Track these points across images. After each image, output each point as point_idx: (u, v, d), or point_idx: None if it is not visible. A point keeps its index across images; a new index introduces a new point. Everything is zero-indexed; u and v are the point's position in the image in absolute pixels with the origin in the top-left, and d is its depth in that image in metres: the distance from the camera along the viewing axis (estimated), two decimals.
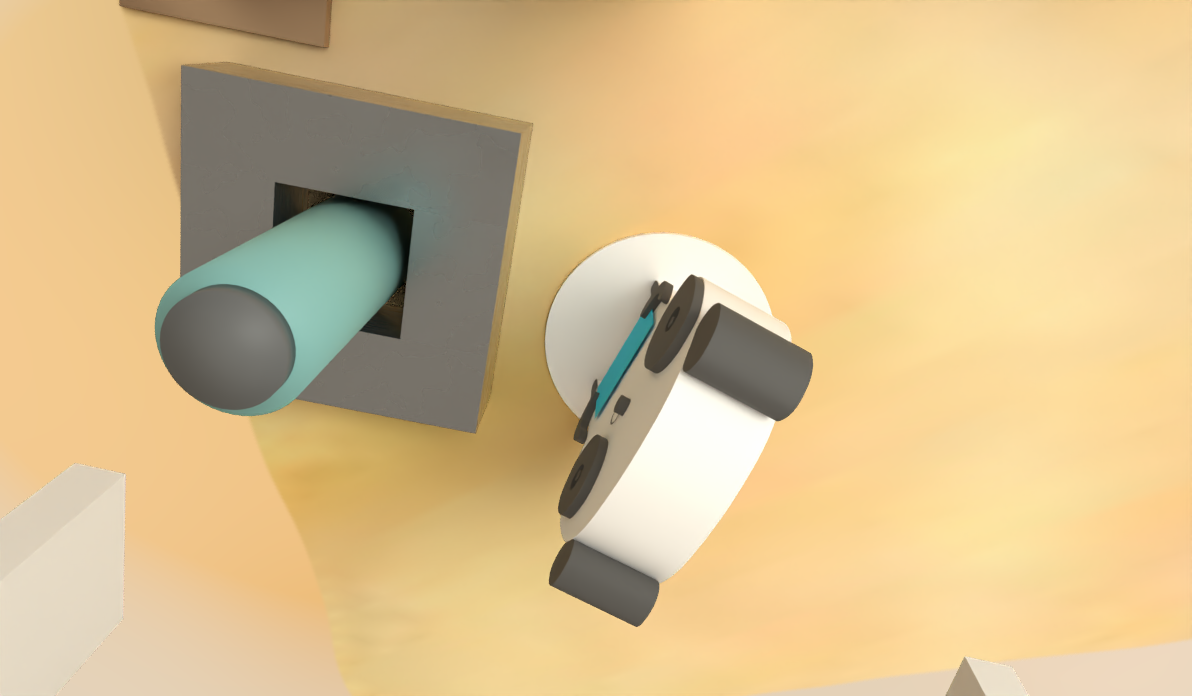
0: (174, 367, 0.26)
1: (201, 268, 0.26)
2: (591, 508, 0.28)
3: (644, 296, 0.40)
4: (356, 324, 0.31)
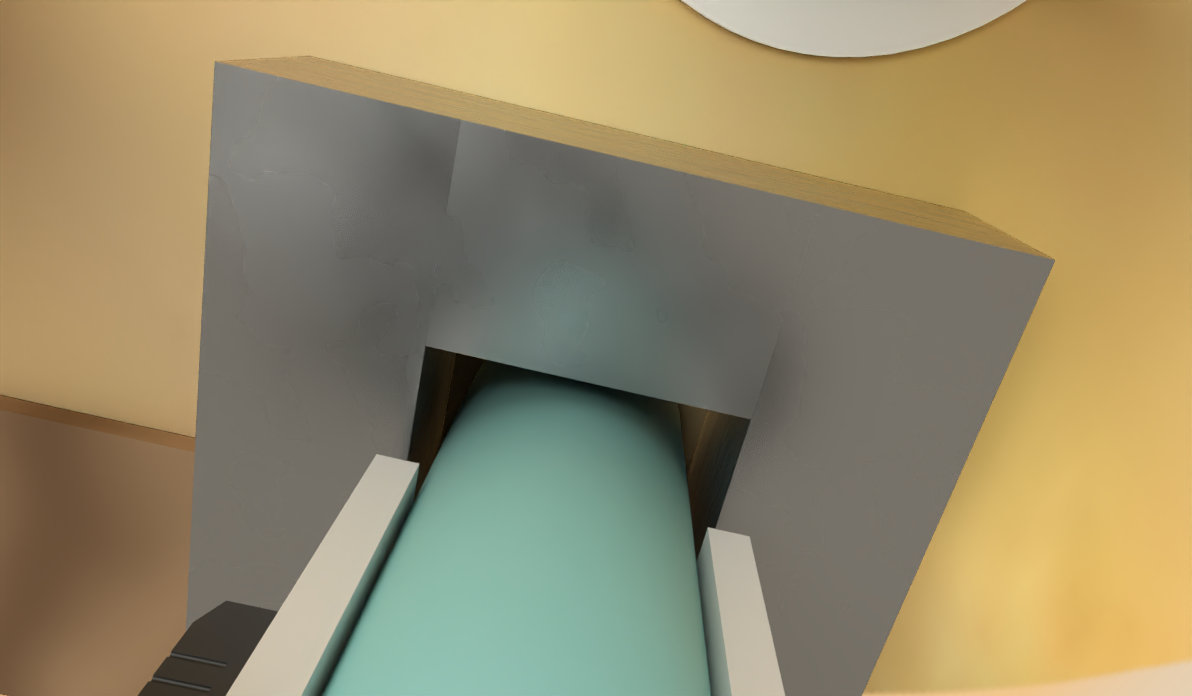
0: None
1: None
2: None
3: None
4: (591, 604, 0.10)
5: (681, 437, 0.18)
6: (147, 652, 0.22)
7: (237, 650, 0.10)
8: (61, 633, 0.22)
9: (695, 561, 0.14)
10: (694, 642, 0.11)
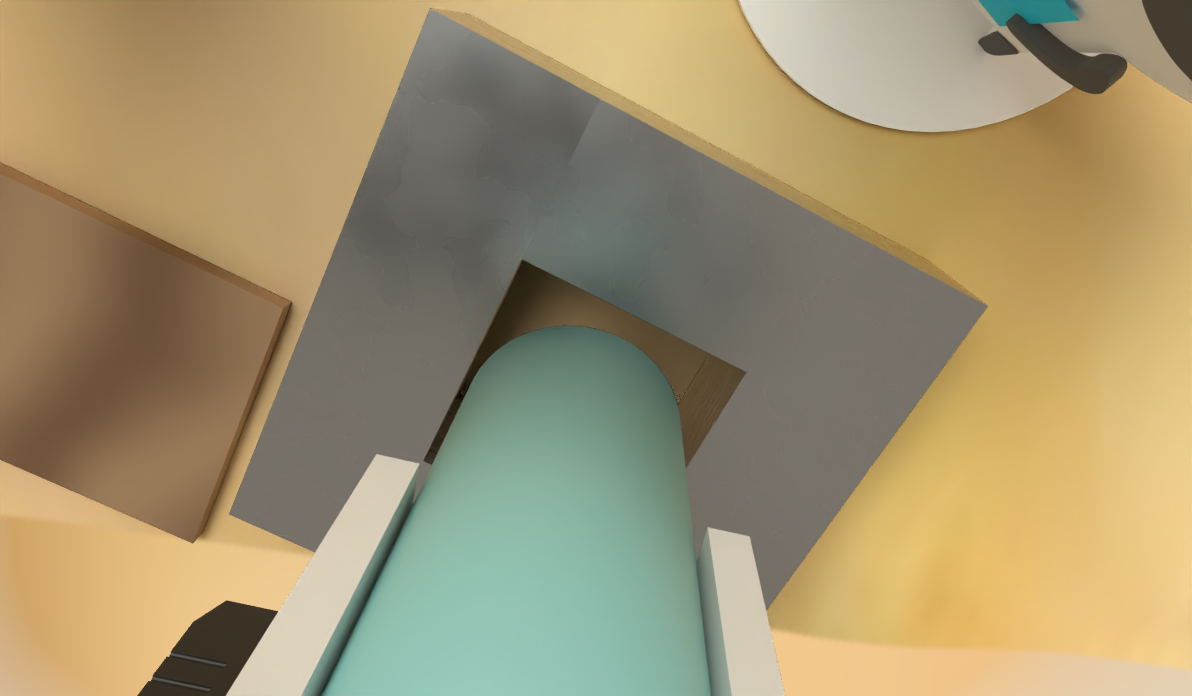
0: None
1: None
2: None
3: None
4: (590, 604, 0.10)
5: (681, 437, 0.18)
6: (182, 466, 0.25)
7: (237, 650, 0.10)
8: (111, 434, 0.25)
9: (695, 561, 0.14)
10: (694, 641, 0.11)
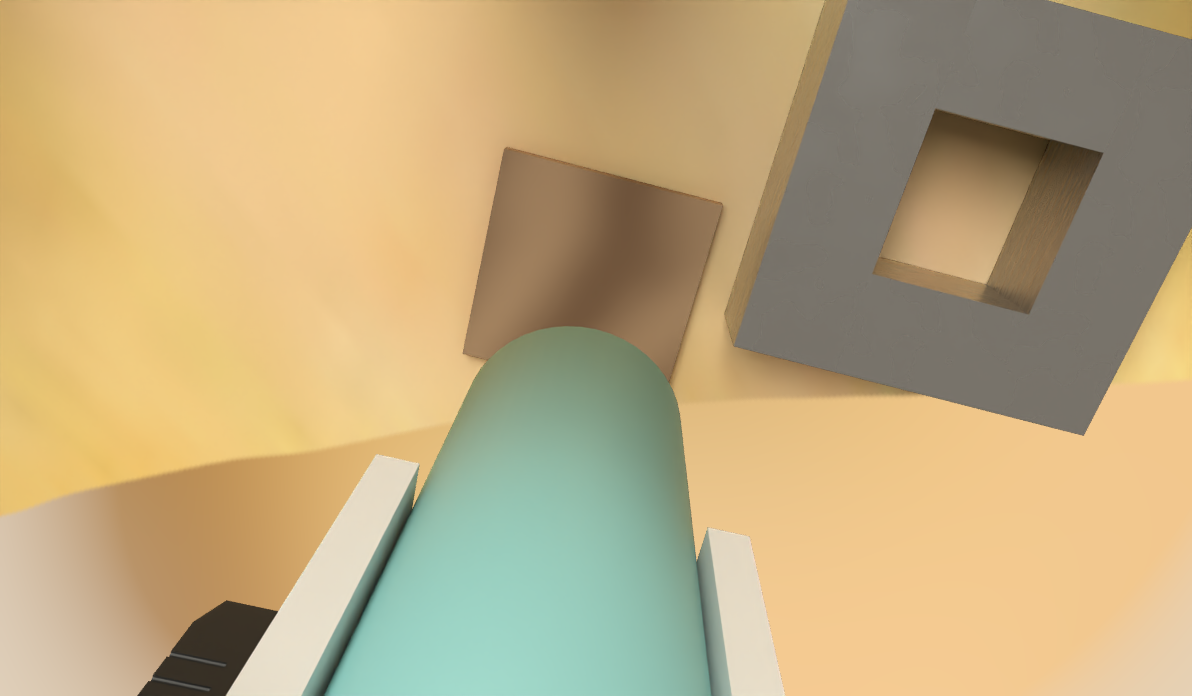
0: None
1: None
2: None
3: None
4: (591, 604, 0.10)
5: (681, 437, 0.18)
6: (653, 344, 0.35)
7: (237, 650, 0.10)
8: (601, 330, 0.35)
9: (695, 561, 0.14)
10: (694, 641, 0.11)
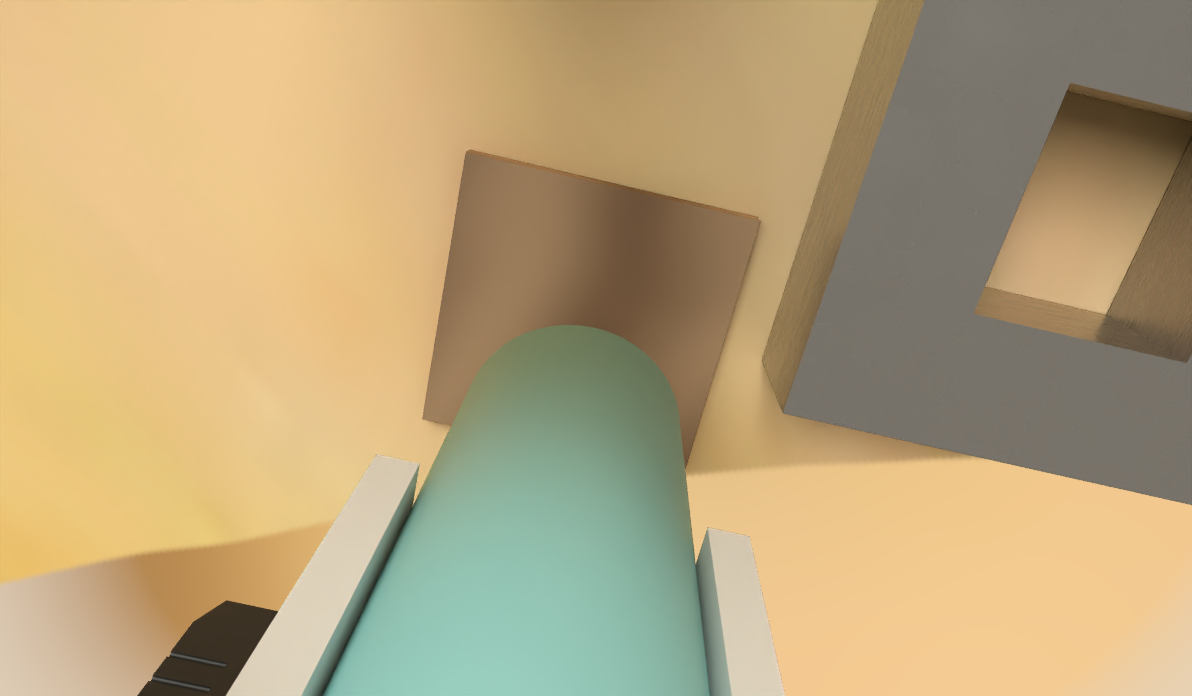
0: None
1: None
2: None
3: None
4: (590, 597, 0.10)
5: (680, 435, 0.18)
6: None
7: (237, 650, 0.10)
8: None
9: (694, 557, 0.14)
10: (692, 635, 0.11)
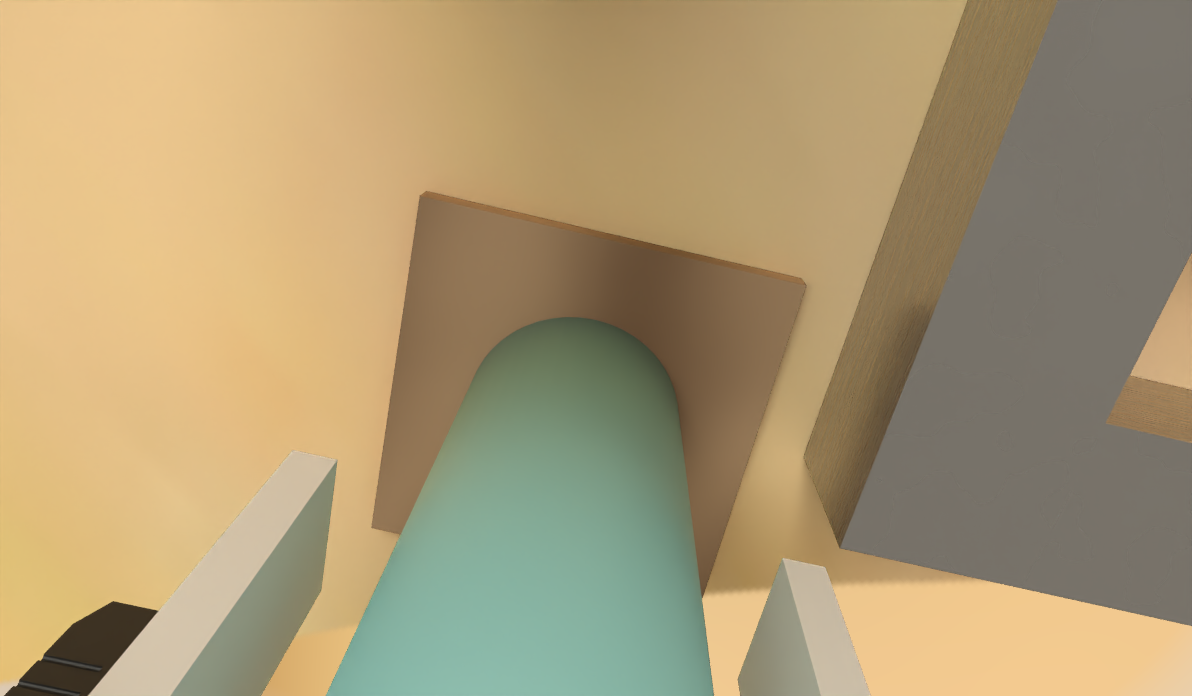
0: None
1: None
2: None
3: None
4: (597, 570, 0.10)
5: (679, 424, 0.18)
6: None
7: (116, 654, 0.10)
8: None
9: (693, 538, 0.14)
10: (693, 609, 0.12)
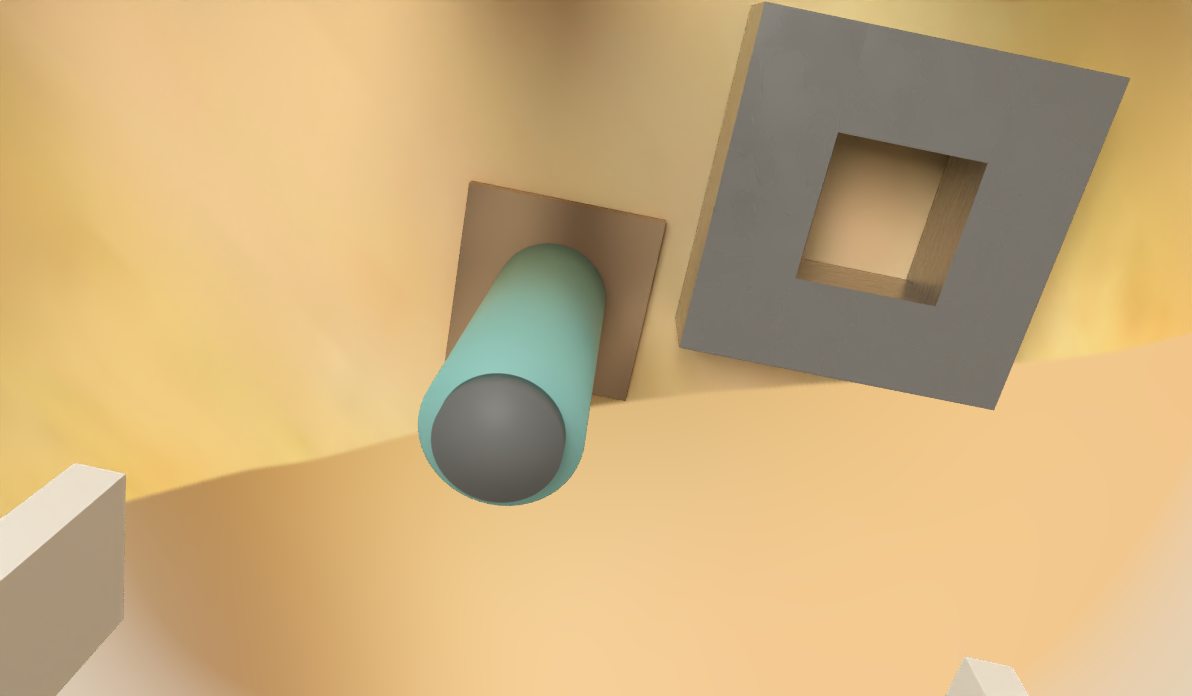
0: (516, 493, 0.25)
1: (424, 449, 0.26)
2: None
3: None
4: (545, 312, 0.29)
5: (602, 293, 0.36)
6: (613, 348, 0.39)
7: None
8: None
9: (596, 327, 0.32)
10: (586, 336, 0.30)
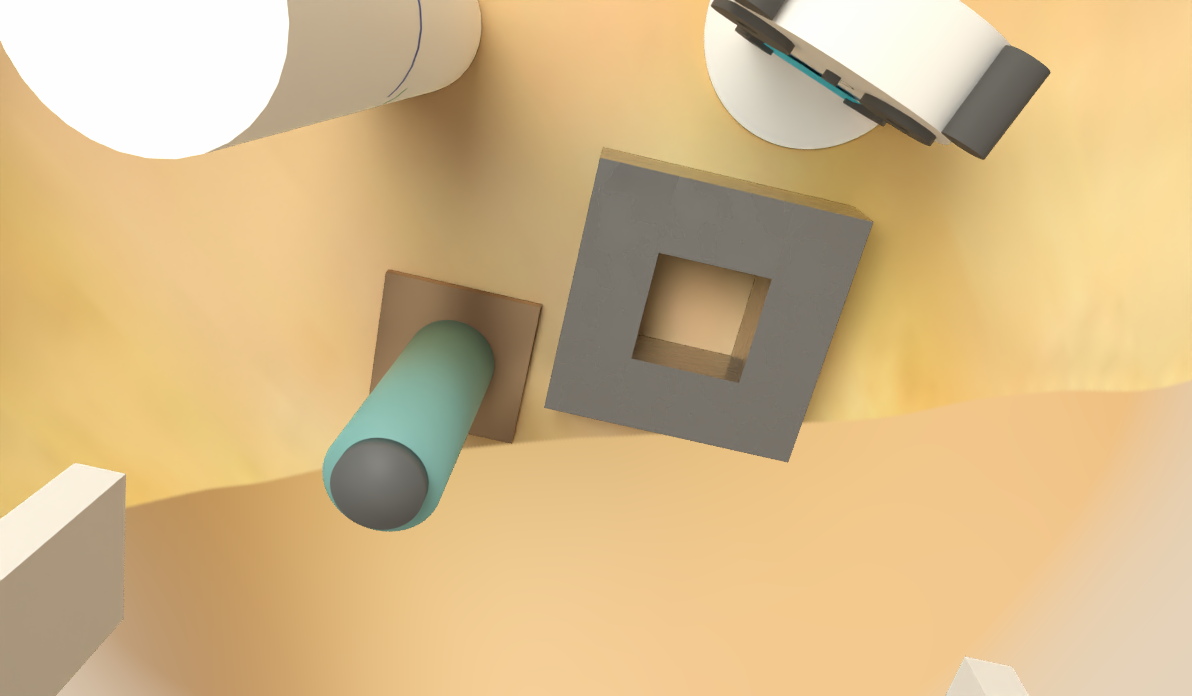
0: (392, 523, 0.35)
1: (327, 490, 0.35)
2: (910, 113, 0.30)
3: None
4: (425, 387, 0.39)
5: (488, 361, 0.46)
6: (501, 402, 0.49)
7: None
8: None
9: (474, 393, 0.42)
10: (459, 403, 0.40)
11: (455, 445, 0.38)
